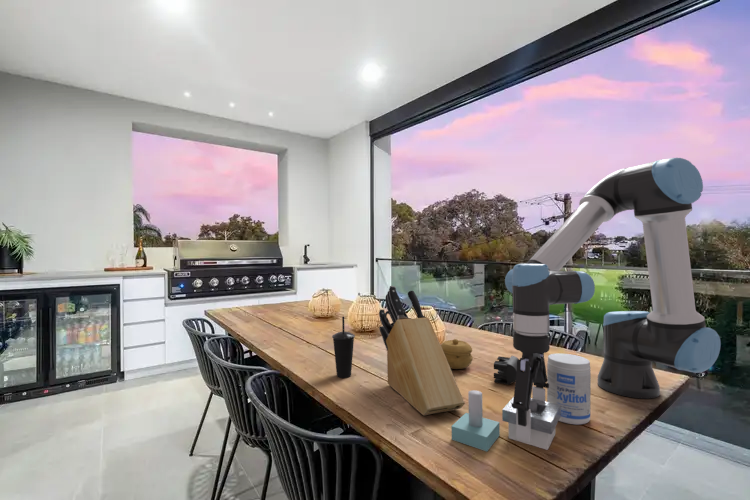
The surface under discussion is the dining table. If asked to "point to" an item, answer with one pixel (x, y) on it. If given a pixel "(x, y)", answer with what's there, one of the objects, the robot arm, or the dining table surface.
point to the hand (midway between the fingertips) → (531, 426)
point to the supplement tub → (570, 386)
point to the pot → (457, 353)
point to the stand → (533, 432)
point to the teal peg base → (475, 425)
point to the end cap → (505, 370)
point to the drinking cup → (343, 352)
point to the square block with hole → (536, 415)
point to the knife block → (417, 359)
